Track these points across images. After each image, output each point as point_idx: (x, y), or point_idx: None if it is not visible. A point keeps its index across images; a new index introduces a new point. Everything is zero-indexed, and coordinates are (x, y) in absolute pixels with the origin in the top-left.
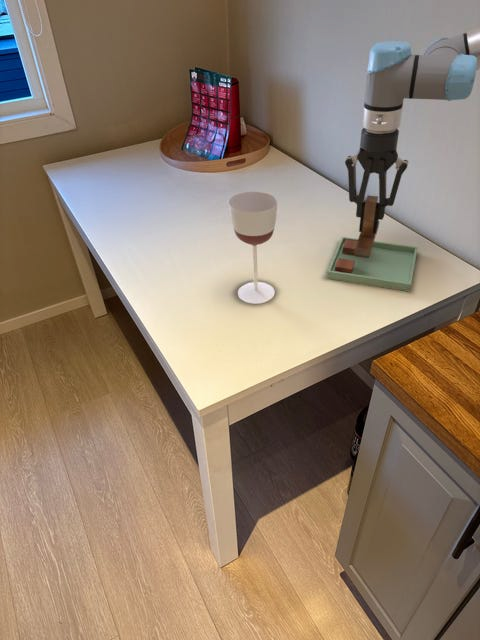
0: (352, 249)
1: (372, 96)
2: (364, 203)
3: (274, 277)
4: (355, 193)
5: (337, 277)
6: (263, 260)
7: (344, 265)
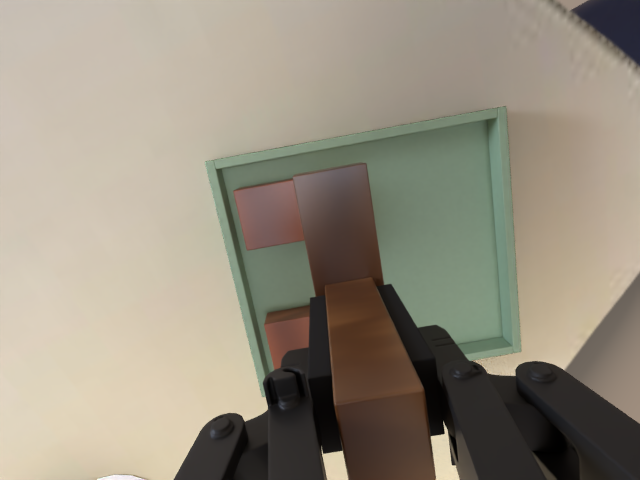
0: (284, 243)
1: None
2: (326, 408)
3: (125, 440)
4: (235, 460)
5: None
6: (37, 380)
7: None
